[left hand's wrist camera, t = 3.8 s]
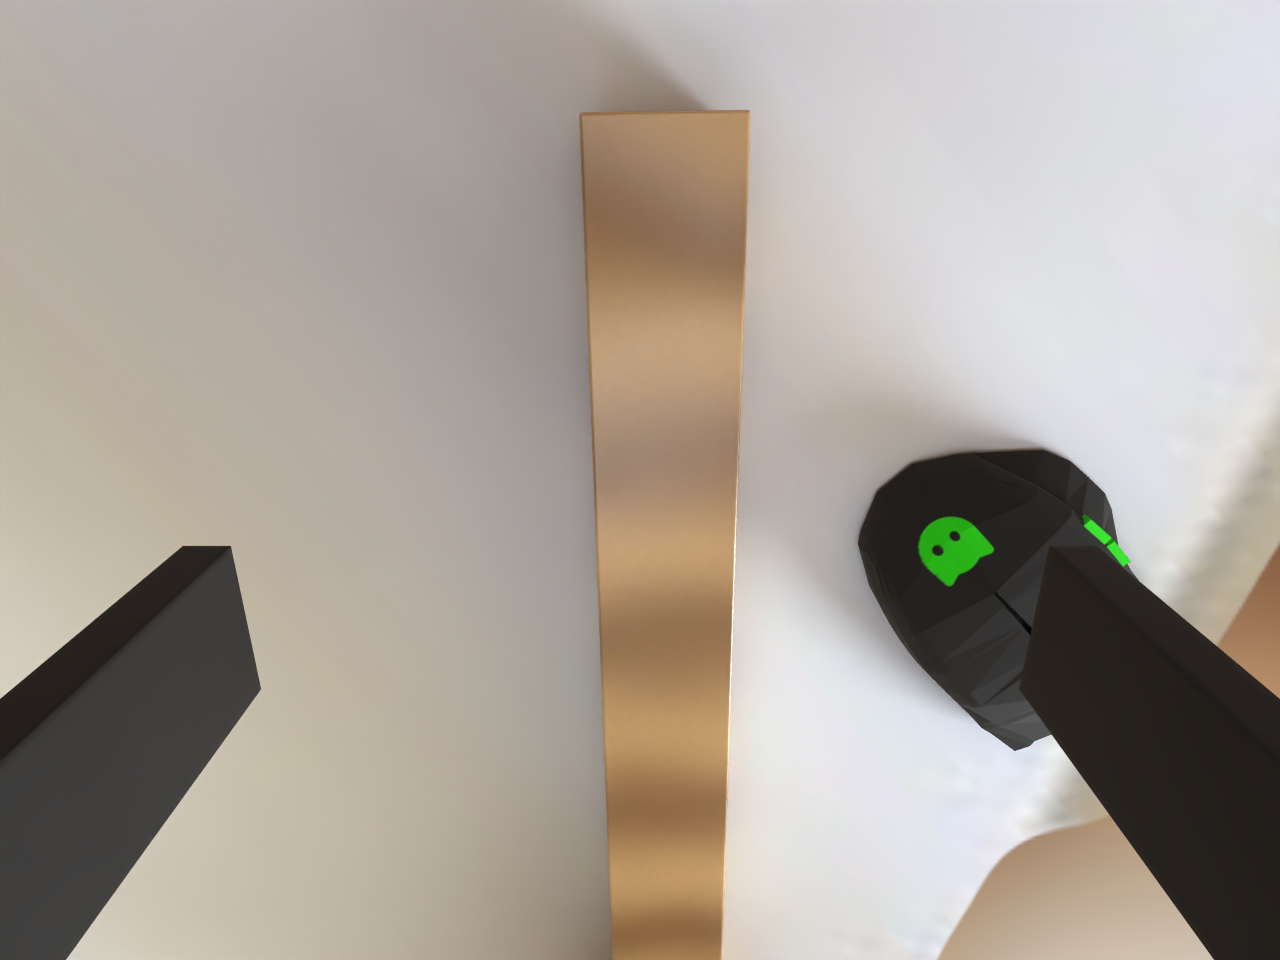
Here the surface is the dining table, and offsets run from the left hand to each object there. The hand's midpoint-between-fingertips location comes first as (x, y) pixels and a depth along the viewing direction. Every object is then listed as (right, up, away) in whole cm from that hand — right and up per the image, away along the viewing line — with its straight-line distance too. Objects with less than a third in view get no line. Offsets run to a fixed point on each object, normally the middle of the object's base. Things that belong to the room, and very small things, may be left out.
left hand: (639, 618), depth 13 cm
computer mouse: (+18, -3, +25) cm, 31 cm away
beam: (+1, -8, +27) cm, 28 cm away
